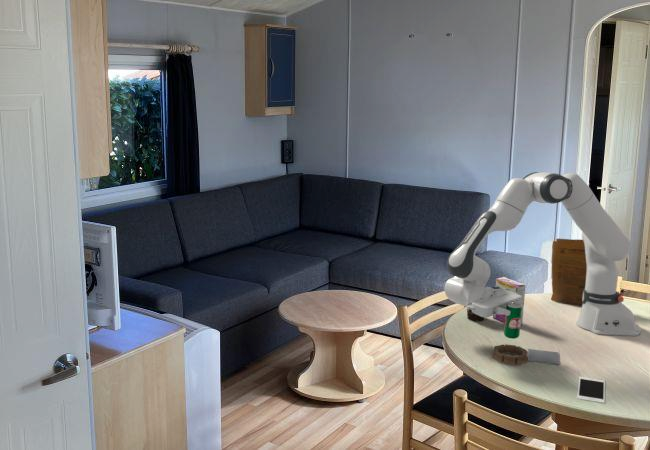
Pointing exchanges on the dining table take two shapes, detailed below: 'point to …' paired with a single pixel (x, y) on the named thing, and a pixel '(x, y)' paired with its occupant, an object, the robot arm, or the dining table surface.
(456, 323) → the dining table surface
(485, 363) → the dining table surface
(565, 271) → the pancake mix bag
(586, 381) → the cell phone
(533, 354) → the coaster
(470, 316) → the coffee mug
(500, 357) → the walnut ring
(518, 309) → the soda can
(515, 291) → the candy bar box
